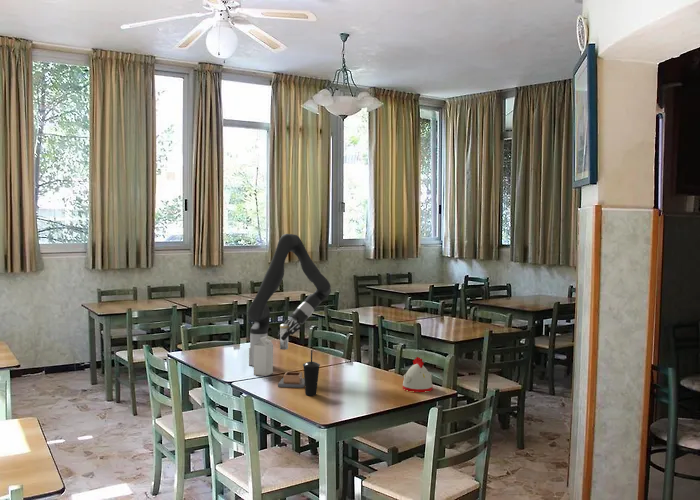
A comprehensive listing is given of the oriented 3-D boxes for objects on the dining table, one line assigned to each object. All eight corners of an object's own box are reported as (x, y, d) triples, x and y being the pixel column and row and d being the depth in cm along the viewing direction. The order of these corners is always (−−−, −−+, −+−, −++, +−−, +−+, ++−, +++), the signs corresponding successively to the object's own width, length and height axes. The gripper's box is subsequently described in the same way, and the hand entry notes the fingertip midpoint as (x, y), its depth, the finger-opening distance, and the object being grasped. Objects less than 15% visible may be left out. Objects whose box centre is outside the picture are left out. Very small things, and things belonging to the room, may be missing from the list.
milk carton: (253, 374, 315) (254, 337, 315) (260, 371, 322) (261, 335, 321) (265, 376, 313) (266, 338, 312) (272, 373, 319) (273, 336, 319)
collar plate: (277, 386, 293) (278, 376, 292) (282, 380, 305) (282, 370, 304) (303, 387, 292) (303, 377, 292) (306, 381, 304) (307, 371, 304)
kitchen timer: (412, 394, 285) (413, 361, 285) (397, 386, 298) (398, 355, 297) (438, 391, 291) (438, 359, 291) (422, 384, 304) (423, 353, 303)
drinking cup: (312, 397, 275) (313, 352, 275) (298, 395, 279) (299, 350, 279) (322, 394, 282) (323, 350, 281) (309, 391, 286) (309, 348, 285)
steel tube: (279, 349, 306) (279, 325, 306) (280, 347, 311) (280, 323, 310) (287, 349, 306) (287, 325, 306) (288, 348, 310) (289, 324, 310)
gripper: (292, 305, 317) (269, 331, 312) (304, 309, 305) (281, 336, 299) (301, 315, 320) (279, 341, 315) (314, 319, 308) (291, 346, 302)
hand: (280, 338), depth 307 cm, fingers closed on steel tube, 4 cm apart
